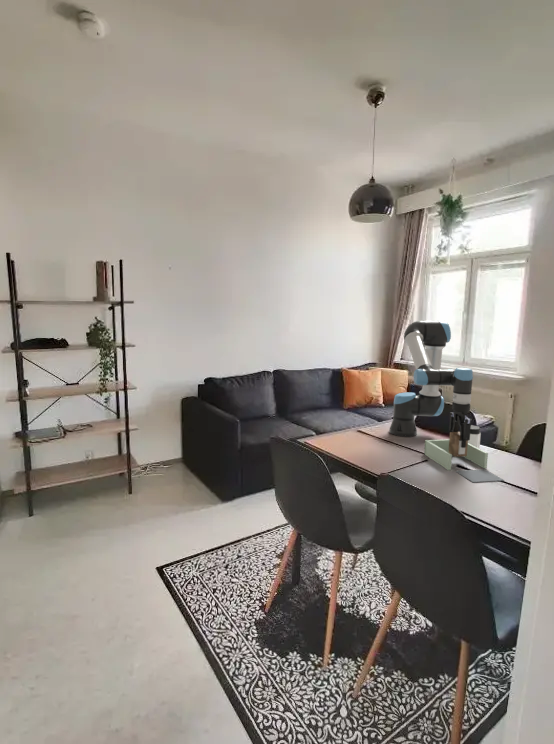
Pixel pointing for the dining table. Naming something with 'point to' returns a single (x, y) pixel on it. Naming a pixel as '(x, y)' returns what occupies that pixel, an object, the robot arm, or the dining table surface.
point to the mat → (479, 476)
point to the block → (456, 444)
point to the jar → (475, 436)
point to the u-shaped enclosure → (441, 455)
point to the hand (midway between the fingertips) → (457, 451)
